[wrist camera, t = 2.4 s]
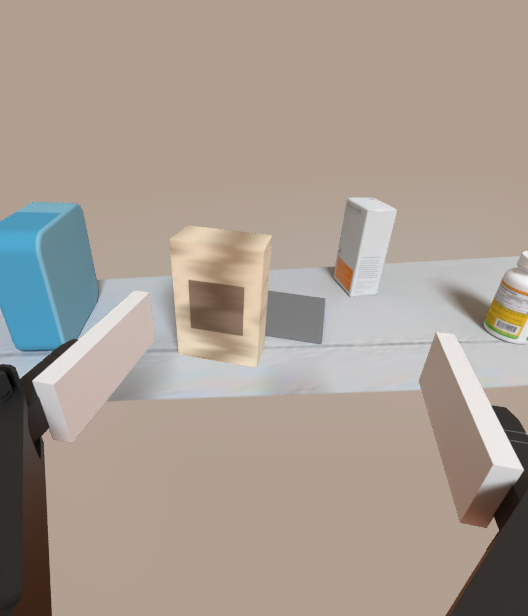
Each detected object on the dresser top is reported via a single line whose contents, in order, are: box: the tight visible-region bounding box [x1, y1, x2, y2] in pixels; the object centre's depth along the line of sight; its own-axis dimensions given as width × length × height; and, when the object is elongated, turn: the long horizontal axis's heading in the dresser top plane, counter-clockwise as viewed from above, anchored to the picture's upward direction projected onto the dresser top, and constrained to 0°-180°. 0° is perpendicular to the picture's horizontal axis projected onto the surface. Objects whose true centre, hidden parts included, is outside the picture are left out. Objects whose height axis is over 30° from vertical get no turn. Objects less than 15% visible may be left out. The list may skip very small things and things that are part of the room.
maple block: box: [170, 226, 272, 367], centre depth 34 cm, size 8×4×12 cm, turn 79°
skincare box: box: [334, 198, 397, 297], centre depth 48 cm, size 6×4×12 cm
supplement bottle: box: [484, 251, 528, 344], centre depth 40 cm, size 5×5×10 cm
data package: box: [0, 202, 98, 351], centre depth 36 cm, size 12×4×12 cm, turn 8°
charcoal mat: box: [265, 291, 325, 344], centre depth 43 cm, size 16×10×1 cm, turn 79°
